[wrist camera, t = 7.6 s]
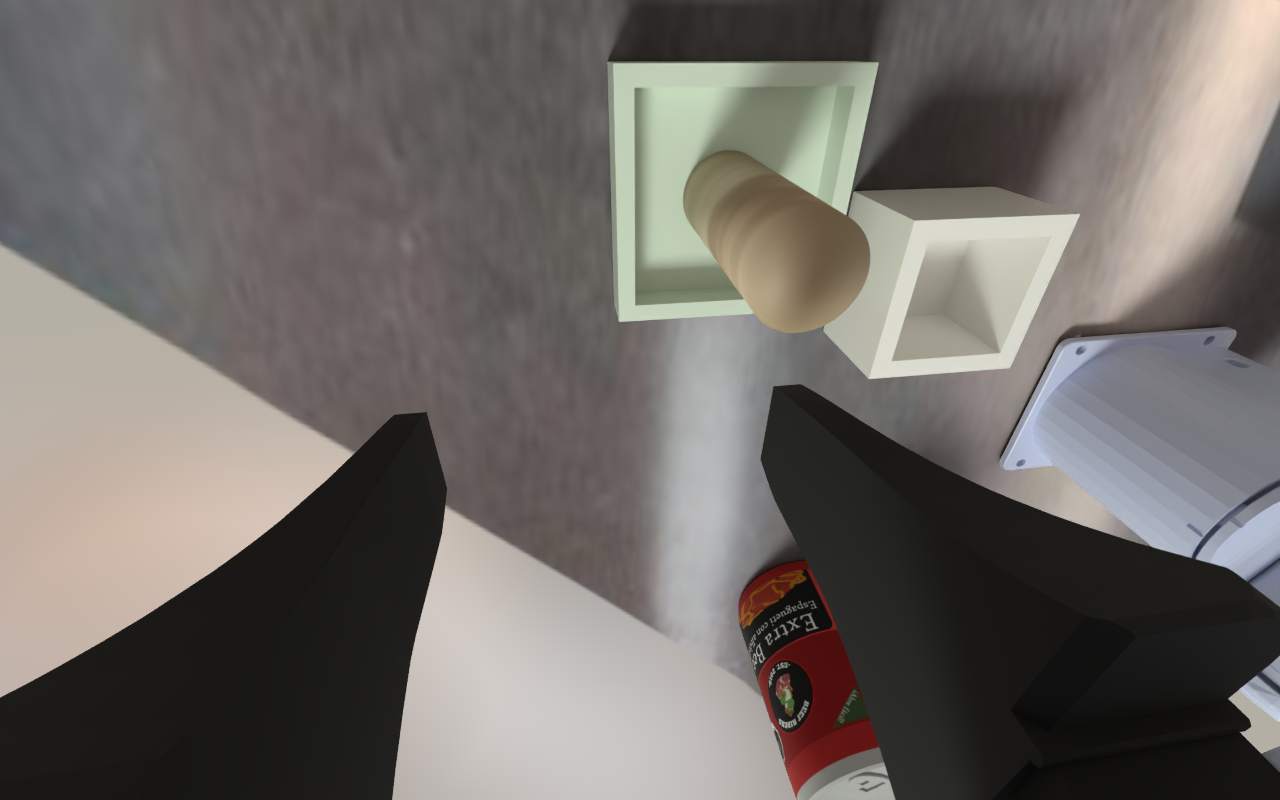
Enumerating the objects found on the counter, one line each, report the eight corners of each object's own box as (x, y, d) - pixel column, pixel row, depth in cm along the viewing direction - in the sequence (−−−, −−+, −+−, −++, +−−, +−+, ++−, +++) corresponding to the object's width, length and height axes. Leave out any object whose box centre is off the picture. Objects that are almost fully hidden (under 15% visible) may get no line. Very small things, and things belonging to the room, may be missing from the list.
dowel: (771, 148, 18) (884, 207, 12) (761, 237, 20) (854, 328, 13) (684, 152, 18) (753, 213, 11) (681, 241, 19) (740, 336, 13)
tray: (850, 60, 17) (878, 62, 16) (807, 291, 22) (825, 309, 20) (607, 61, 16) (613, 63, 15) (614, 302, 21) (619, 322, 19)
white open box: (995, 186, 20) (1080, 214, 17) (945, 322, 24) (1009, 367, 20) (853, 191, 20) (914, 220, 16) (823, 331, 23) (868, 378, 20)
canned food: (784, 542, 31) (881, 750, 22) (876, 574, 34) (994, 767, 25) (709, 618, 34) (767, 826, 25) (799, 640, 37) (880, 833, 28)
